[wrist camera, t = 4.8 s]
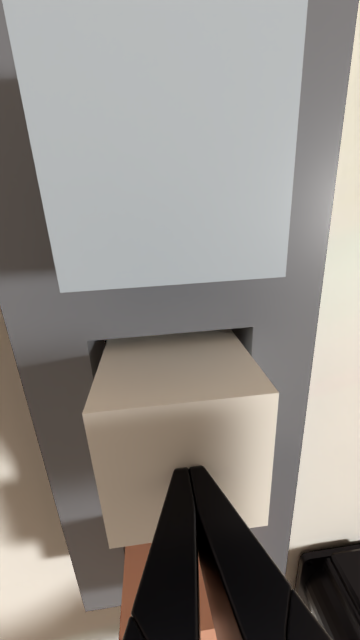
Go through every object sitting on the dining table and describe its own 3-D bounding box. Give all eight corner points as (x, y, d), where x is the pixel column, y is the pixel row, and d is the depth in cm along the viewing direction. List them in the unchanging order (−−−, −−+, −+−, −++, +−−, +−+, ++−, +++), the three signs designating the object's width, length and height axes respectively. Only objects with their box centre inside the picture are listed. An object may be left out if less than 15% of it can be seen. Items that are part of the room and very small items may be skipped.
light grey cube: (227, 252, 11) (285, 276, 6) (99, 261, 11) (60, 292, 6) (228, 100, 9) (309, -19, 5) (76, 103, 9) (-4, -26, 4)
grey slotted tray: (264, 524, 19) (284, 578, 16) (95, 549, 18) (85, 611, 15) (302, 45, 10) (361, -23, 7) (-20, 45, 9) (-95, -33, 6)
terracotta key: (229, 549, 15) (265, 692, 11) (139, 563, 15) (135, 718, 10) (231, 482, 14) (273, 618, 9) (128, 496, 13) (118, 645, 9)
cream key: (226, 420, 14) (267, 525, 9) (123, 432, 13) (109, 549, 9) (227, 325, 12) (279, 392, 7) (108, 335, 12) (81, 414, 7)
